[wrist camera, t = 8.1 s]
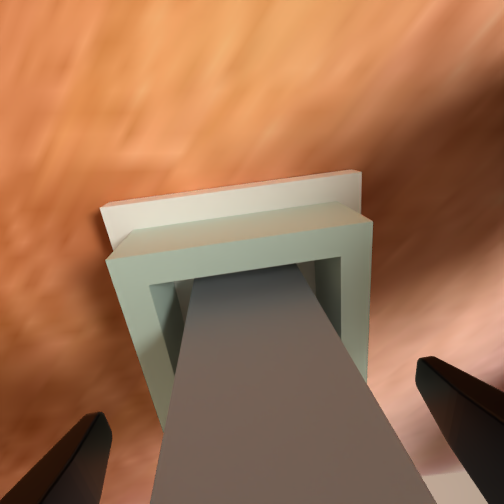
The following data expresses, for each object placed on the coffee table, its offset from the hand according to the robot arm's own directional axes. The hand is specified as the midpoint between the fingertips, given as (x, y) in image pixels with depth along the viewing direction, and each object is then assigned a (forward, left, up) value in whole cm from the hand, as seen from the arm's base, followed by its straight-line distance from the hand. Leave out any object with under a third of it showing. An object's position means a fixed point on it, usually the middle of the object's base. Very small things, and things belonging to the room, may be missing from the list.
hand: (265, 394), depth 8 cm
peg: (0, 0, -5) cm, 5 cm away
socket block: (0, 0, -6) cm, 6 cm away
